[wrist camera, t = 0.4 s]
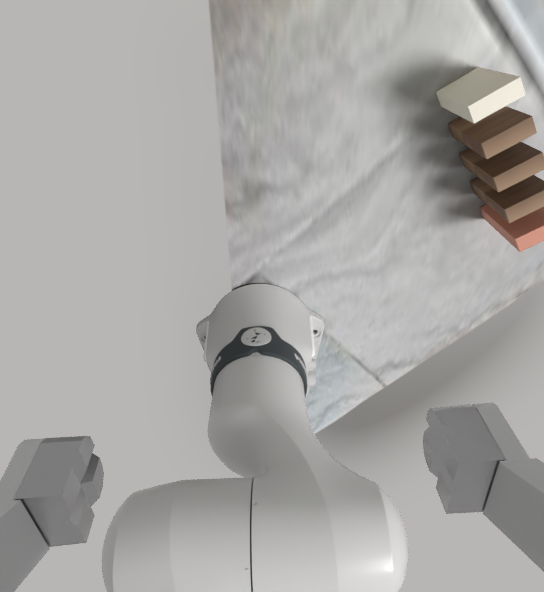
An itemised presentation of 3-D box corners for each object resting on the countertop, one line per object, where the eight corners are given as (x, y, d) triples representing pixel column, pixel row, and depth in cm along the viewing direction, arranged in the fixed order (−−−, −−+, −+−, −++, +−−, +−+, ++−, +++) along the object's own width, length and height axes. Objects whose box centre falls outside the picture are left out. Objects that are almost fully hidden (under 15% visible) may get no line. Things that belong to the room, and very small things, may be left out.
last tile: (483, 82, 52) (525, 94, 44) (441, 106, 54) (474, 123, 45) (478, 66, 52) (520, 76, 43) (435, 92, 53) (468, 106, 44)
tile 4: (494, 114, 54) (536, 132, 46) (452, 137, 55) (486, 159, 47) (489, 100, 53) (531, 116, 45) (447, 123, 55) (481, 143, 46)
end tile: (522, 199, 59) (565, 230, 51) (484, 218, 61) (519, 251, 52) (518, 187, 59) (561, 217, 50) (479, 207, 60) (515, 239, 51)
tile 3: (504, 144, 56) (547, 167, 47) (463, 166, 57) (498, 192, 49) (499, 131, 55) (542, 152, 47) (459, 153, 56) (493, 177, 48)
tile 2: (513, 173, 58) (556, 200, 49) (474, 193, 59) (509, 223, 50) (509, 160, 57) (552, 186, 48) (469, 181, 58) (504, 209, 50)
